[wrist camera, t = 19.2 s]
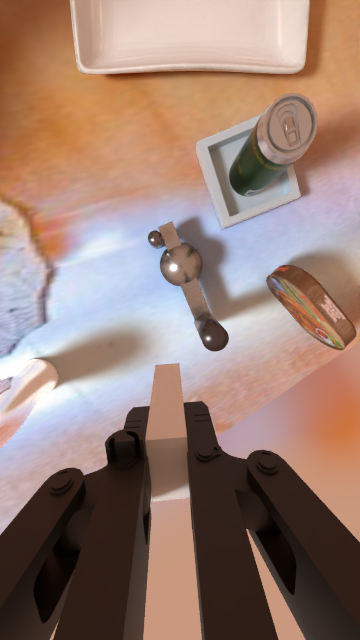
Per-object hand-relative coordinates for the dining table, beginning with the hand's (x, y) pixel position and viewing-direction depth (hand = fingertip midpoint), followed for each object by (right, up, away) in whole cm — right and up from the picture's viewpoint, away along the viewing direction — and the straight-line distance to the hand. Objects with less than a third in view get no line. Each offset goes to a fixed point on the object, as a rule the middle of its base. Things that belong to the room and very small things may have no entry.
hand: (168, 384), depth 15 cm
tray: (+10, +24, +18) cm, 32 cm away
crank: (+2, +10, +18) cm, 21 cm away
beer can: (+10, +24, +18) cm, 31 cm away
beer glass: (-22, -5, +23) cm, 33 cm away
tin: (+19, +7, +23) cm, 30 cm away
